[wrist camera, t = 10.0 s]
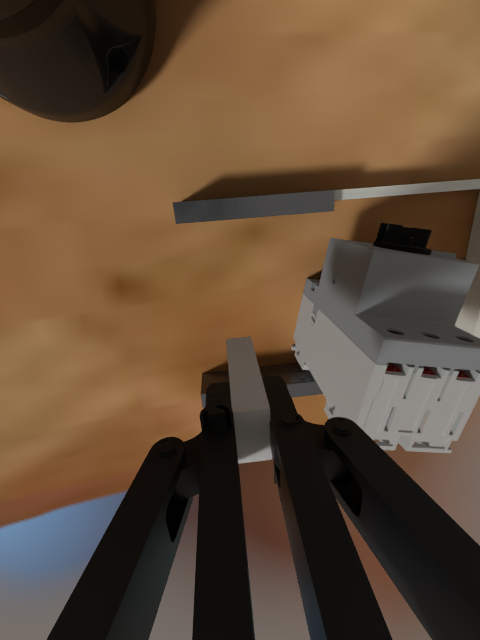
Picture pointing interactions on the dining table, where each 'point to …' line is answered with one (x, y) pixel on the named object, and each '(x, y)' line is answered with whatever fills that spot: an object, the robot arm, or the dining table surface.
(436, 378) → the circuit breaker
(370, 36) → the dining table surface
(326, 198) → the dark gray open bay
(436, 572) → the robot arm
